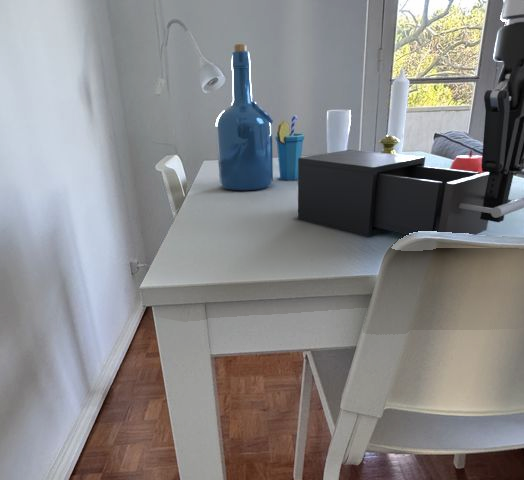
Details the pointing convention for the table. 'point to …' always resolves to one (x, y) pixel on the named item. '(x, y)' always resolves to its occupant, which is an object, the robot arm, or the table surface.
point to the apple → (468, 163)
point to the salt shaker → (388, 144)
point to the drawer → (434, 200)
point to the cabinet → (344, 187)
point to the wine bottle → (244, 134)
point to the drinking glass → (337, 130)
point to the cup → (288, 150)
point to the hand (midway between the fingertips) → (491, 219)
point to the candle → (398, 109)
